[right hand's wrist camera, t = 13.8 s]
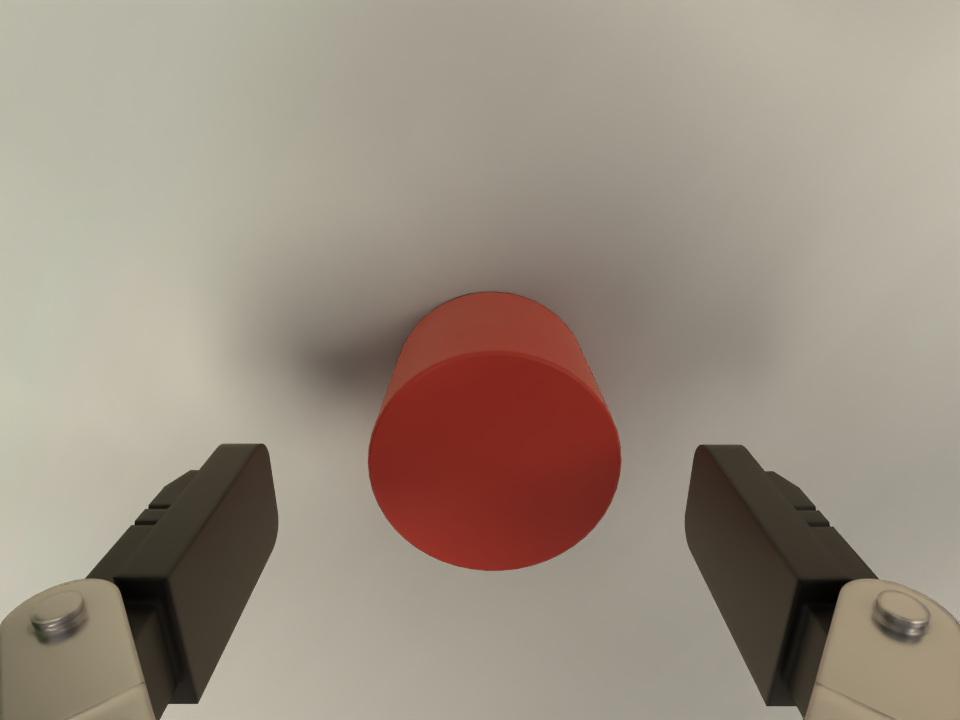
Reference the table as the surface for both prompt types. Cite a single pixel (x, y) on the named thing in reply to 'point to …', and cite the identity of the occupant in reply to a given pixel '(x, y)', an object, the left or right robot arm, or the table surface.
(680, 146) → the table surface
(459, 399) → the can
